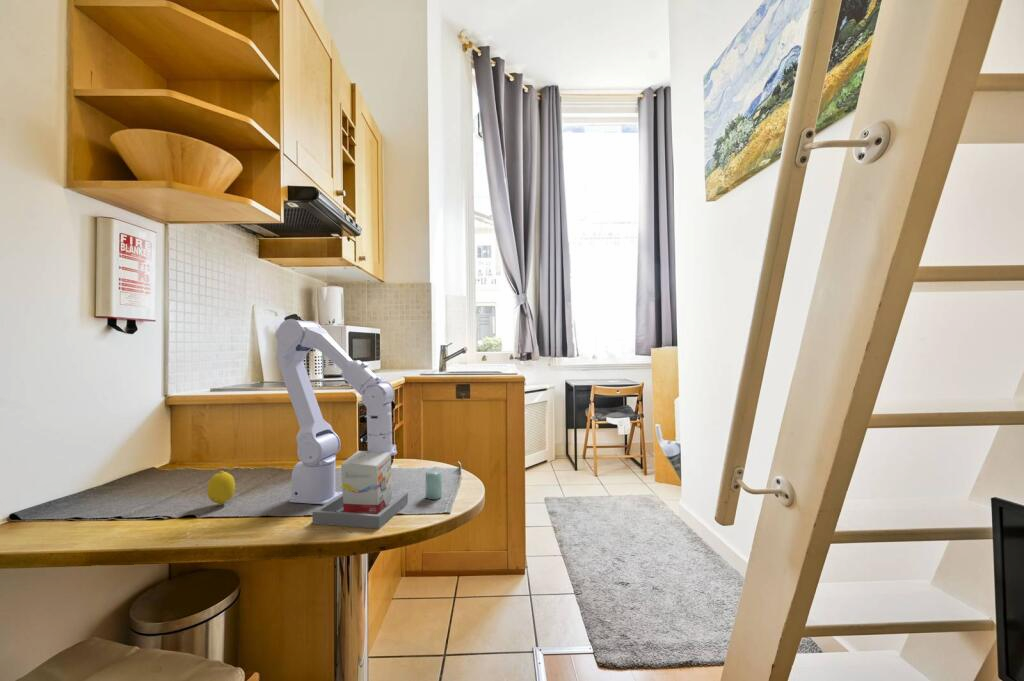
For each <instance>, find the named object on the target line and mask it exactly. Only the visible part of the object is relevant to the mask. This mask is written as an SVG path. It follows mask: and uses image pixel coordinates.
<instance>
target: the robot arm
mask: <svg viewBox="0 0 1024 681" xmlns="http://www.w3.org/2000/svg"><path fill="white" fill-rule="evenodd" d="M274 333H275V334H274V336H275V340H276V341H277V349H276V350H277V351H276V361H277V365H278V367H279V370H280V373H281V376H282V378H283V382H284V385H285V388H286V390H287V394H288V396H289V399H290V401H291V402H290V403H291V404H292V405H291V406H292V408H293V410H294V413H295V416H296V420H297V422H298V424H299V430H298V432H297V435H296V437H295V440H296V443H297V451H296V452H297V456H298V458H299V460H300V461H299V462H297V463H296V464H295V465H294V466H293V469H292V472H291V499H289V503H297V504H312V505H313V504H314V505H325V504H326V503H328V502H329V501H331V500H333V499H334V498H336V497H338V496H339V495H341V494H343V491H336V458H337V457H336V456H337V455H336V454H338V452H339V451H340V450H341V446H342V444H341V439H340V437H339V435H338V434H337V433H336V432H335V431H334V429H333V426H332V425H331V424H330V423H328V422H327V421H326V420H325V419H324V417H323V415H322V411H321V408H320V406H319V403H318V400H317V397H316V394H315V391H314V389H313V386H312V383H311V380H310V378H309V377H310V376H309V375H308V371H307V369H306V366H305V363H304V360H305V359H306V356H307V355H308V353H310V351H311V350H312V349H315V350H318V351H319V352H320V353H321V354H322V355H324V356H325V357H327V359H328V360H330V361H331V362H332V363H333V364H335V365H336V366H337V367H338V368H339V369H340V370H341V378H342V379H343V380H345V381H346V382H347V383H348V384H349V385H350V386H351V388H353V389H354V390H355V391H356V392H357V393H358V394H359V395H361V402H362V404H363V405H364V406H365V408H366V435H367V451H370V452H375V453H381V452H389V453H391V456H395V455H397V454H398V451H397V445H396V444H393V419H392V413H393V412H392V402H393V400H394V399H395V394H396V393H395V392H396V391H395V388H394V387H393V386H392V384H391V383H390V382H388V381H384V380H382V377H380V376H377V374H375V373H374V372H373V371H372V370H371V369H370V368H369V364H368V363H367V362H366V361H361V360H353V359H352V358H351V356H349V355H348V354H347V353H346V352H345V350H344V349H342V348H341V346H340V345H339V344H338V343H337V342H336V341H335V339H333V337H331V335H330V334H329V333H328V331H327V329H326V328H324V327H322V326H321V325H320V324H319V322H317V321H314V320H299V319H298V320H297V319H295V318H289V319H285V320H284V321H282V322H281V323H280V325H279V326H278V328H277V329H276V331H275V332H274ZM366 459H367V460H371V459H372V458H371V459H368V458H366ZM393 463H394V458H392V457H391V466H392V465H393Z"/></svg>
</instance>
